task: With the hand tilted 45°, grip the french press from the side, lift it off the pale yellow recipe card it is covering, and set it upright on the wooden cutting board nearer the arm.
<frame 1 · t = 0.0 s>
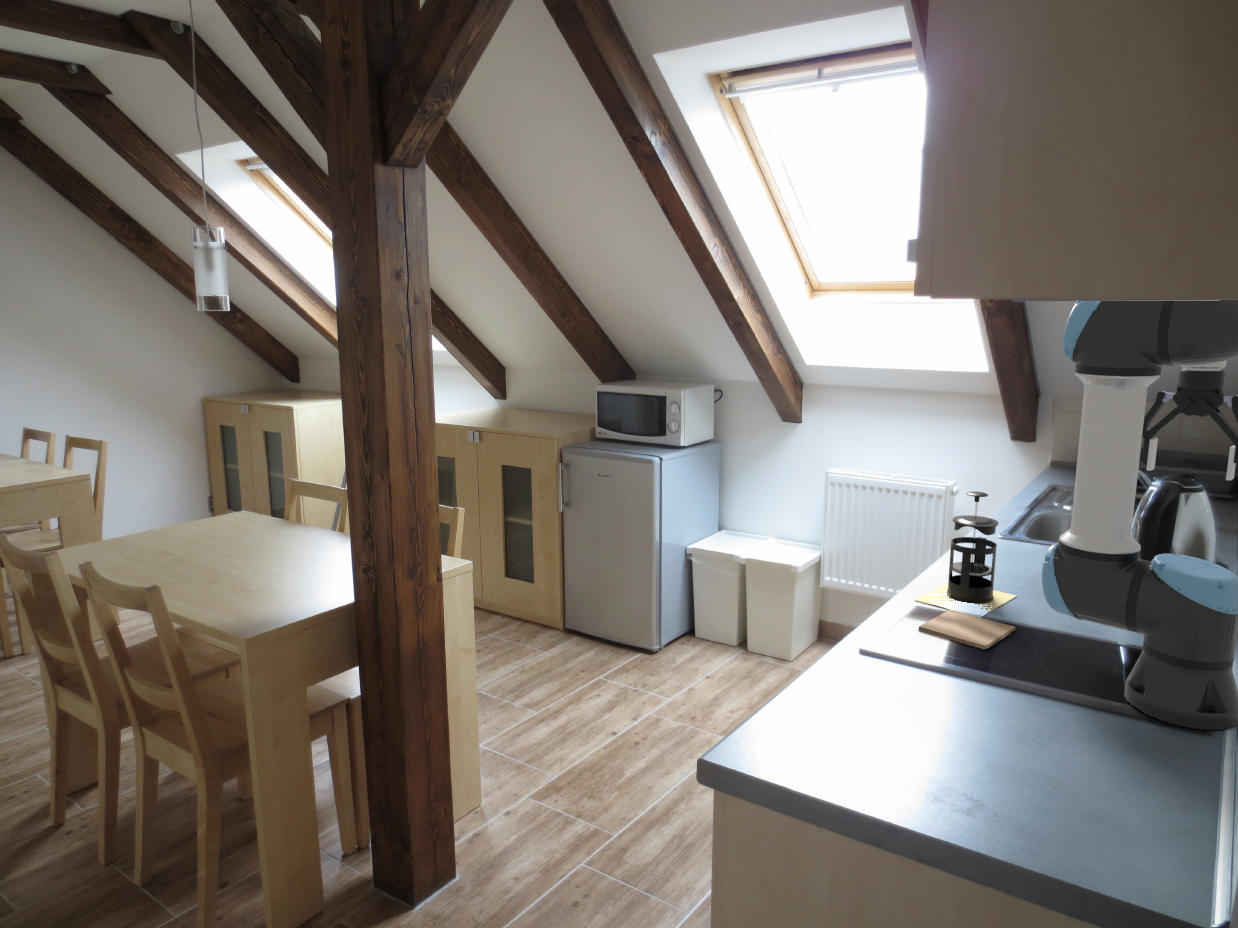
hand: (1188, 474, 167), 28 cm above the counter, tool pointing down, fingers open, 13 cm apart
french press: (970, 596, 179), resting on recipe card
wooden cutting board: (966, 630, 161), on the counter
recipe card: (966, 598, 178), on the counter
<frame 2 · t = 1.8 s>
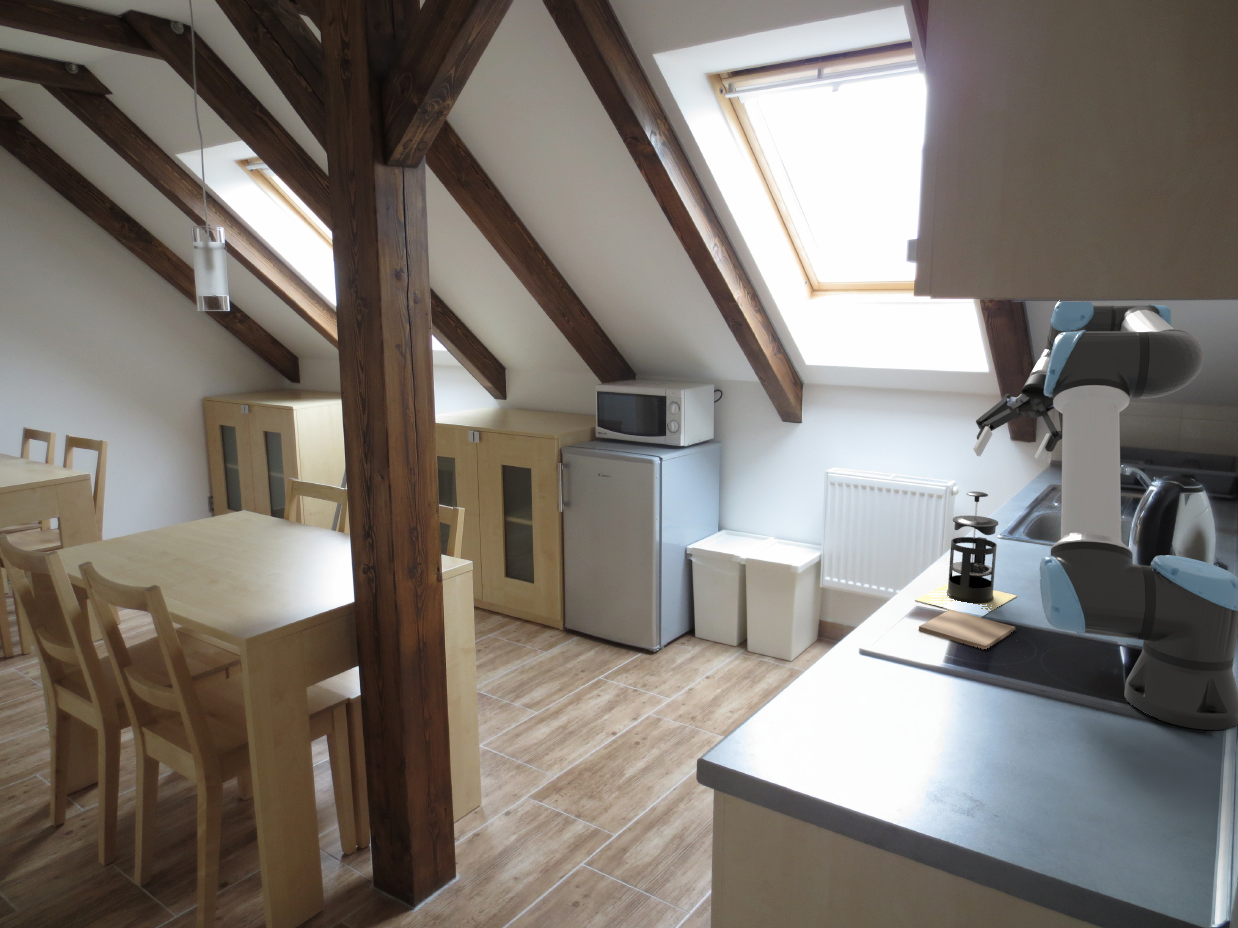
hand: (1006, 457, 180), 29 cm above the counter, tool tilted 45°, fingers open, 13 cm apart
nothing on the counter moved.
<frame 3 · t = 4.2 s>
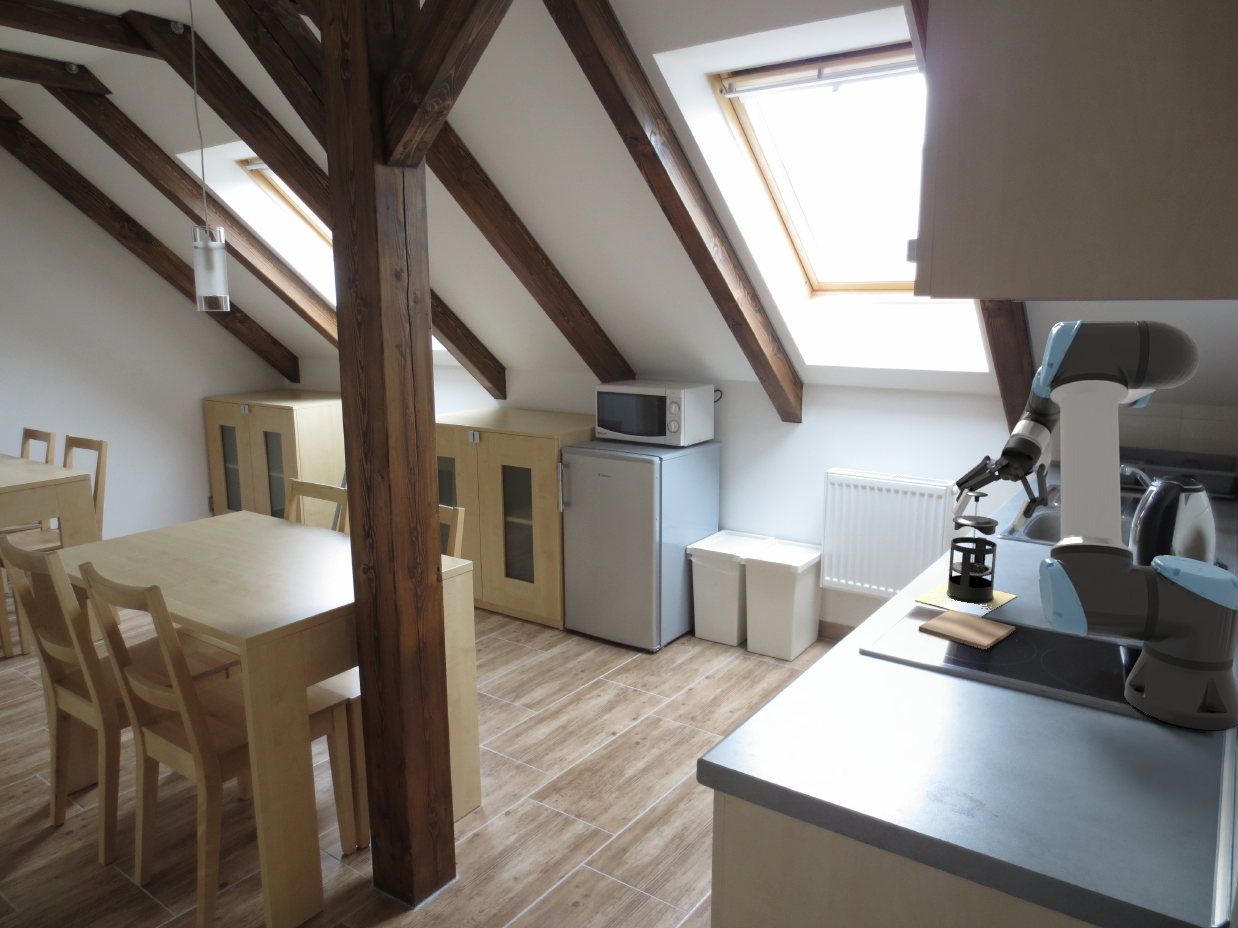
hand: (984, 521, 180), 16 cm above the counter, tool tilted 45°, fingers open, 13 cm apart
nothing on the counter moved.
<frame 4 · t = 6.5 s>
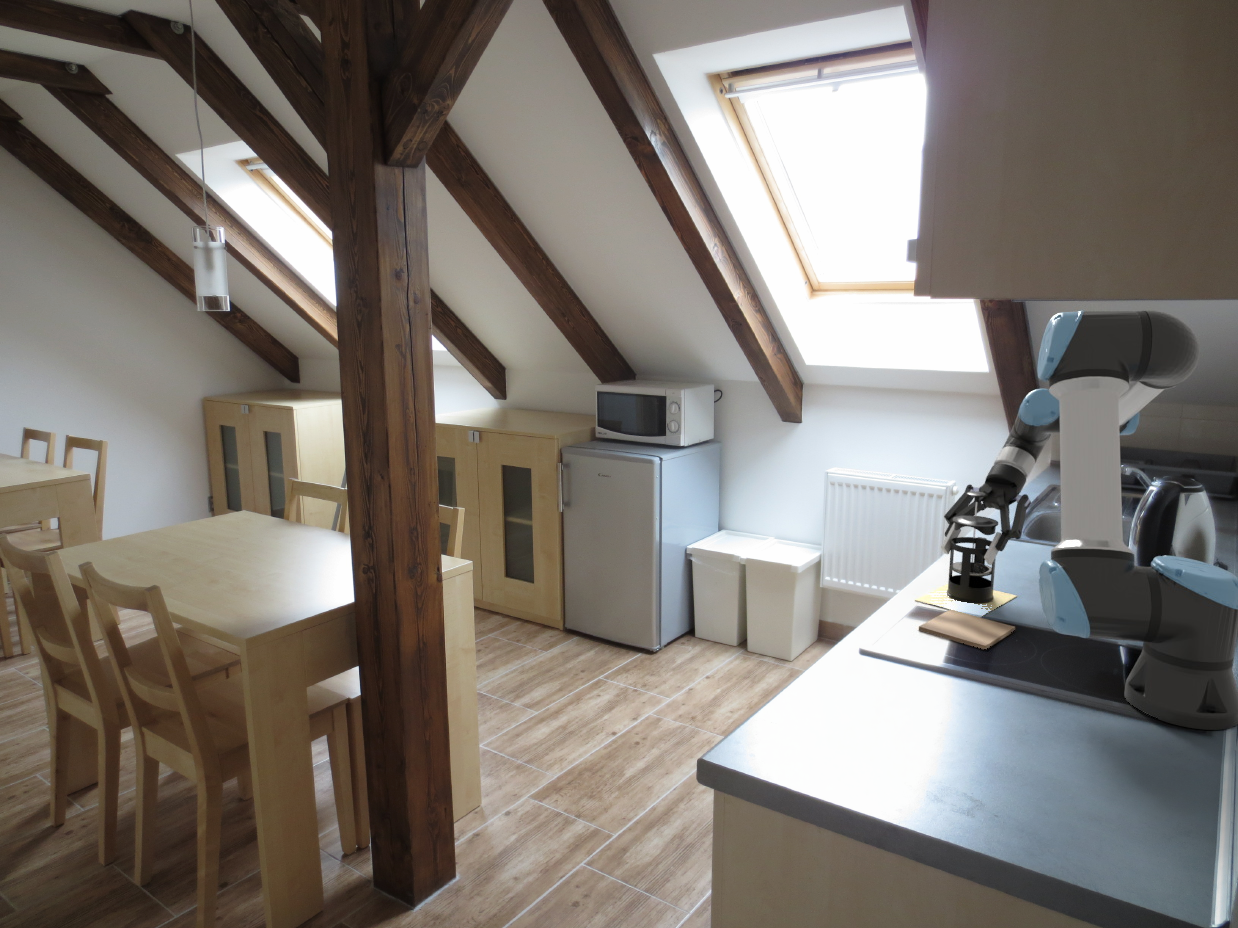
hand: (965, 555, 175), 10 cm above the counter, tool tilted 45°, fingers open, 9 cm apart
french press: (970, 596, 179), resting on recipe card, touching gripper
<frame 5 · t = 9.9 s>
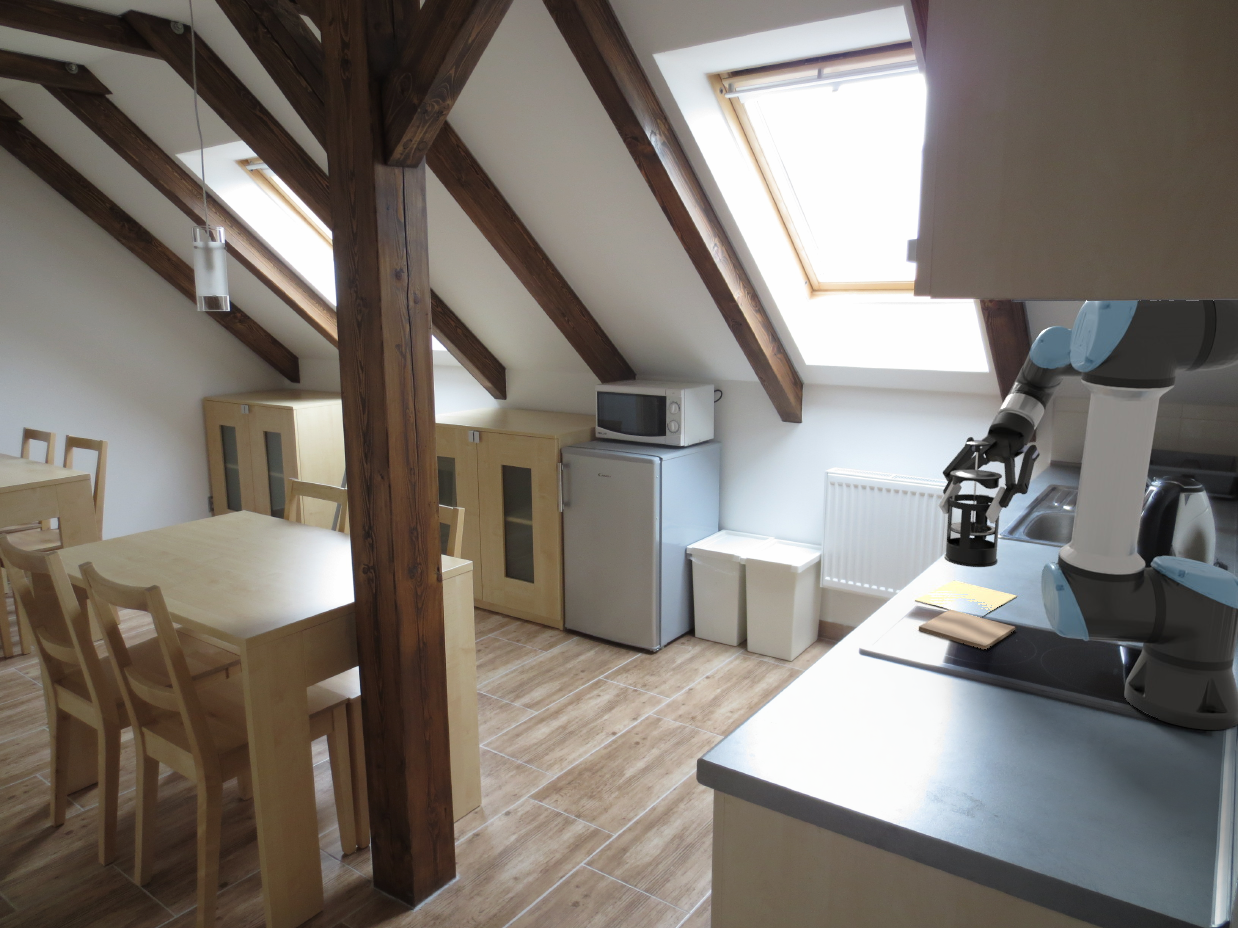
hand: (965, 514, 155), 24 cm above the counter, tool tilted 45°, fingers closed on french press, 9 cm apart
french press: (971, 560, 159), point 14 cm above the counter, touching gripper
when the fingers open (13 cm above the counter, at t = 13.0 s): french press drops 2 cm, resting on wooden cutting board.
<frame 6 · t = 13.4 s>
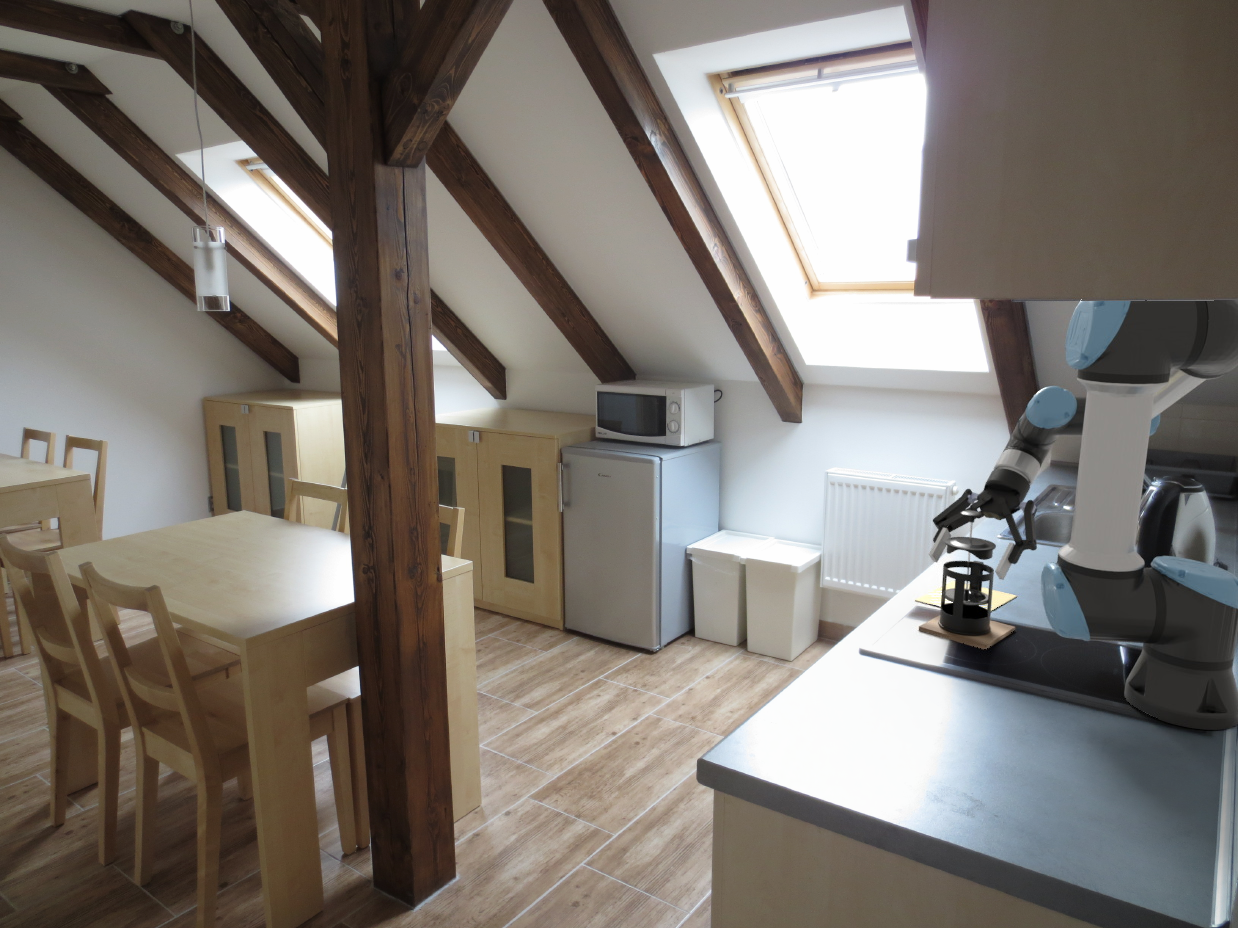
hand: (964, 566, 157), 13 cm above the counter, tool tilted 45°, fingers open, 13 cm apart
french press: (964, 626, 161), point 1 cm above the counter, touching wooden cutting board
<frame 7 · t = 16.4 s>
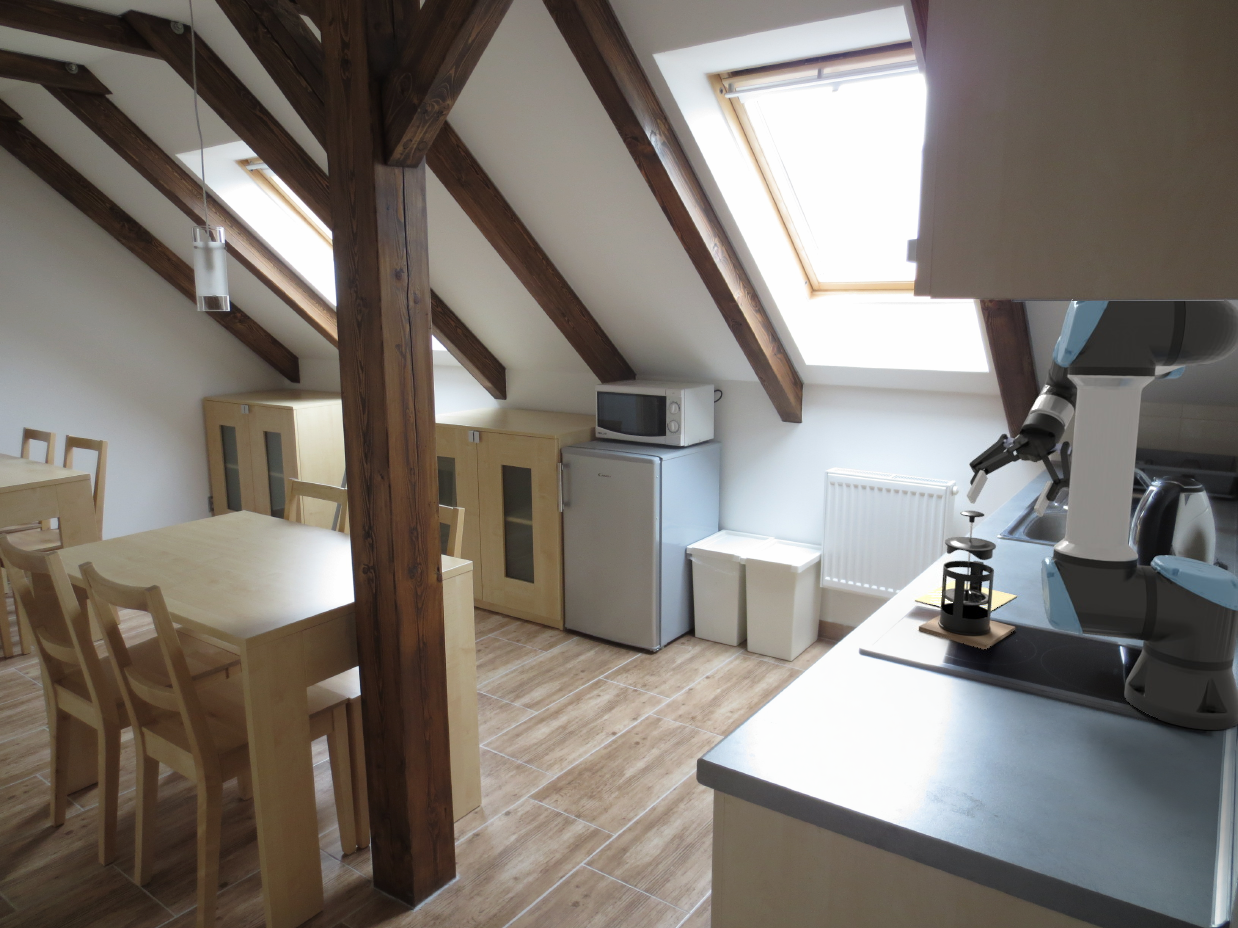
hand: (1002, 505, 162), 23 cm above the counter, tool tilted 45°, fingers open, 13 cm apart
nothing on the counter moved.
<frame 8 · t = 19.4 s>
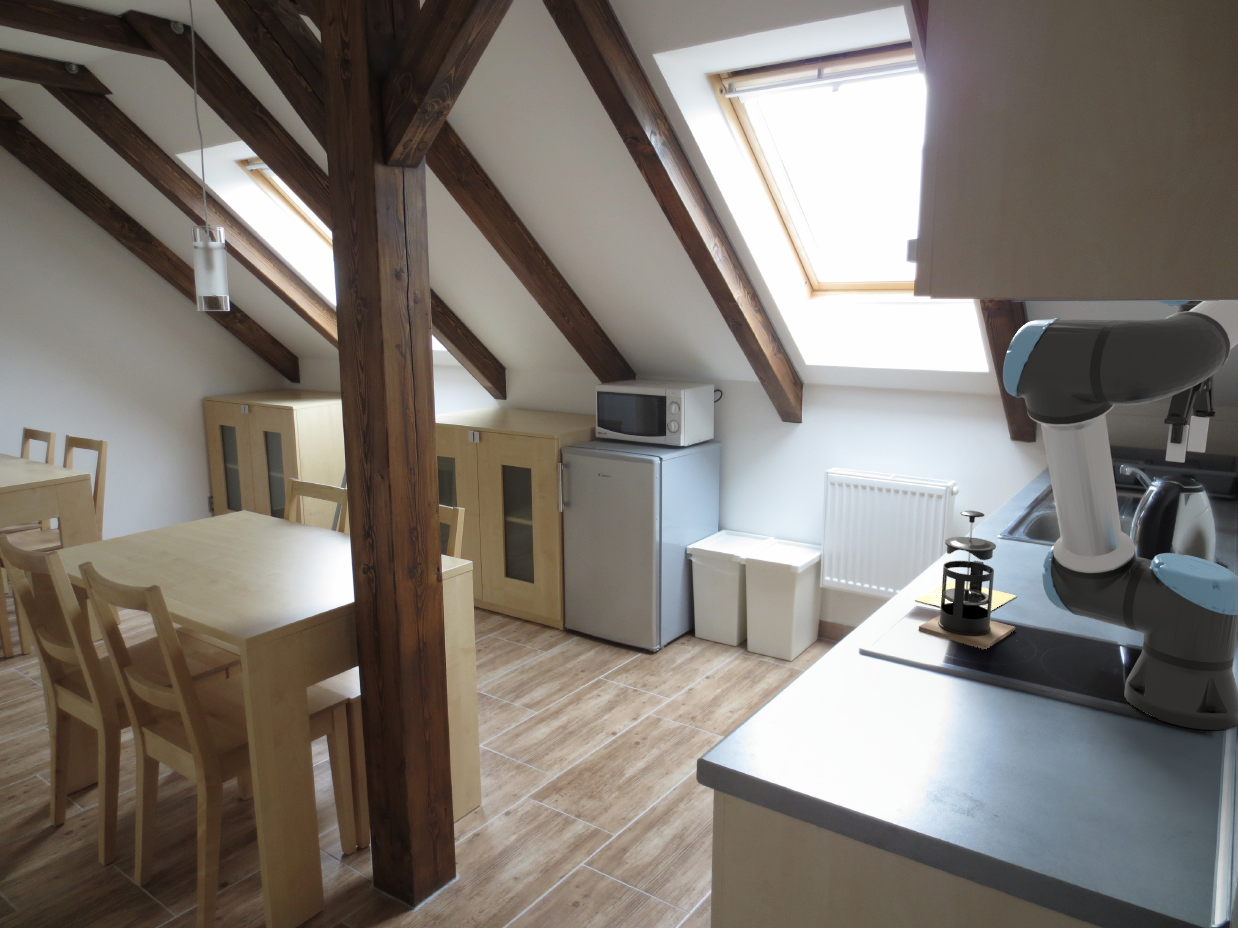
hand: (1185, 456, 150), 35 cm above the counter, tool pointing down, fingers open, 13 cm apart
nothing on the counter moved.
at the end: french press inside the target area on the wooden cutting board (0.4 cm from its centre), point 0.6 cm above the wooden cutting board's base; french press tilted 0°; the gripper is holding nothing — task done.
